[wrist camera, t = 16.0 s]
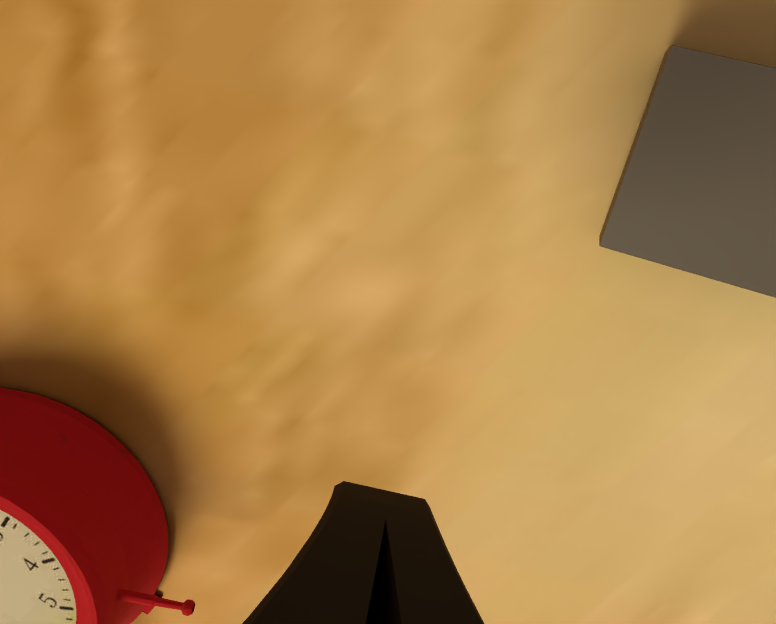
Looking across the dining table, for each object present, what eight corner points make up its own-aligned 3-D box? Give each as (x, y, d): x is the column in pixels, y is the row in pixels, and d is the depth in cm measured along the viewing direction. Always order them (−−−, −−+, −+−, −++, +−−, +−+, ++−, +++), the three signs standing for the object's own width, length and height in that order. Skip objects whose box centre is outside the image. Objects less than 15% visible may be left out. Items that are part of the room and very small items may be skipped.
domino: (665, 52, 17) (968, 119, 15) (599, 236, 18) (865, 313, 17) (671, 45, 15) (1008, 118, 14) (599, 245, 17) (891, 331, 15)
